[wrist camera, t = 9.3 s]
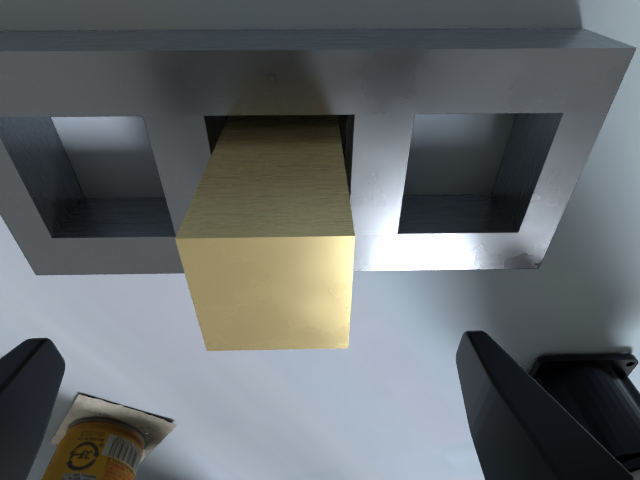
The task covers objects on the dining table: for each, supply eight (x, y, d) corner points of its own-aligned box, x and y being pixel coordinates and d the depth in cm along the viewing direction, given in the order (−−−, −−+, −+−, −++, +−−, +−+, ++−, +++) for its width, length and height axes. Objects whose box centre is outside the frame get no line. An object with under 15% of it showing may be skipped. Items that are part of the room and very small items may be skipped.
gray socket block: (583, 28, 15) (636, 47, 12) (511, 228, 20) (538, 268, 18) (-29, 31, 14) (-96, 52, 12) (68, 233, 20) (36, 275, 17)
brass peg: (335, 99, 16) (354, 235, 9) (333, 187, 19) (348, 348, 11) (235, 101, 16) (174, 238, 9) (246, 188, 18) (206, 350, 11)
